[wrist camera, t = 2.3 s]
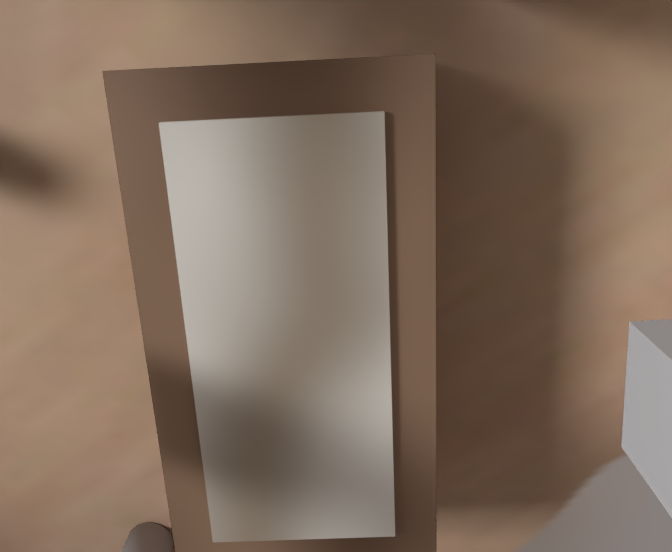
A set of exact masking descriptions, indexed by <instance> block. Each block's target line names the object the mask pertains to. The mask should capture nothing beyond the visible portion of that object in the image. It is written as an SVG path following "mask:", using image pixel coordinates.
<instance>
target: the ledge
mask: <svg viewBox="0 0 672 552" xmlns="http://www.w3.org/2000/svg"><path fill="white" fill-rule="evenodd" d="M172 548H173V538H172V535H171V534H170V532H169V531H168V530H167V529H166V528H164V527H163V526H161V525H159V524H156V523H142V524H139V525H137V526H136V527H134V528H133V529H132V530H131V532H130V534H129V536H128V538H127V540H126V543H125V545H124V547H123V549H122V551H121V552H171V551H172Z"/></svg>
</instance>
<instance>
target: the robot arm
mask: <svg viewBox="0 0 672 552" xmlns="http://www.w3.org/2000/svg"><path fill="white" fill-rule="evenodd" d="M621 447H622V449H623V450H624V451H625V453H626V454H627V456H628V457H629V458H630V460H631V461H632V463H633V464H634V466H635V467H636V468H637V470H638V471H639V473H640V474H641V475H642V477H643V478H644V479H645V481H646V482H647V484H648V485H649V487H650V488H651V490H652V491H653V492H654V494H655V495H656V497H657V498H658V499H659V501H660V502H661V504H662V505H663V507H664V508H665V509H666V511H667V512H668V514H669V515H670V516H671V518H672V320H671V319H666V320H649V321H632V322H630V323H629V338H628V353H627V369H626V384H625V399H624V414H623V429H622V445H621Z"/></svg>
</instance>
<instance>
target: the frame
mask: <svg viewBox="0 0 672 552" xmlns="http://www.w3.org/2000/svg"><path fill="white" fill-rule="evenodd" d="M103 78H104V85H105V91H106V98H107V104H108V111H109V118H110V124H111V131H112V137H113V144H114V151H115V157H116V164H117V170H118V177H119V184H120V190H121V197H122V203H123V210H124V217H125V223H126V230H127V236H128V243H129V250H130V256H131V263H132V269H133V276H134V282H135V289H136V296H137V302H138V309H139V315H140V322H141V329H142V335H143V342H144V348H145V355H146V362H147V368H148V375H149V381H150V388H151V395H152V401H153V408H154V414H155V421H156V428H157V434H158V441H159V447H160V454H161V461H162V467H163V474H164V480H165V487H166V494H167V500H168V507H169V513H170V520H171V527H172V533H173V540H174V546H175V552H436V101H435V54H422V55H402V56H383V57H364V58H345V59H325V60H306V61H287V62H268V63H249V64H229V65H210V66H191V67H172V68H152V69H133V70H114V71H103Z"/></svg>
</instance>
